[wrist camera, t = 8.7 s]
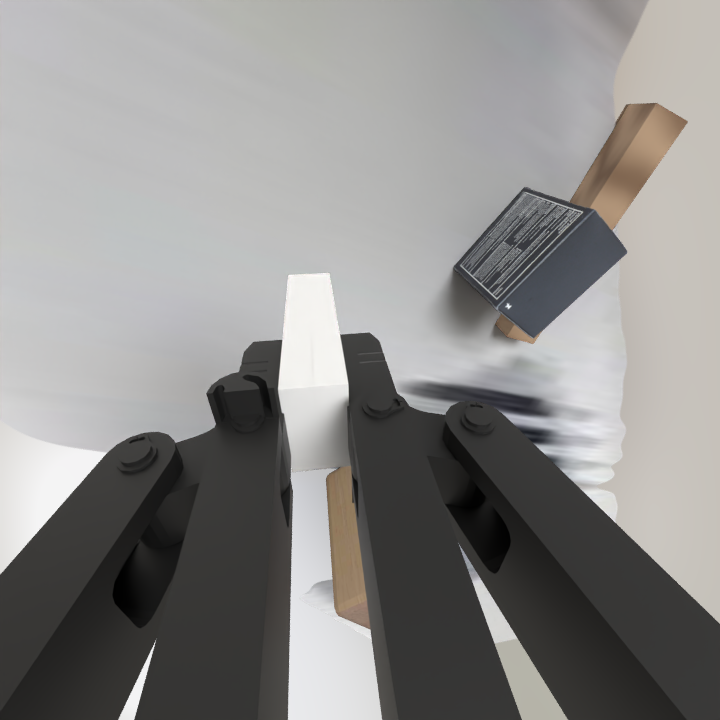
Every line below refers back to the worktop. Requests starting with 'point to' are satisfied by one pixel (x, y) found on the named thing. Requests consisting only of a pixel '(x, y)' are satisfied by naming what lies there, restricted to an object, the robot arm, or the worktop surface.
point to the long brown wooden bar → (620, 170)
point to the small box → (539, 258)
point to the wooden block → (345, 549)
